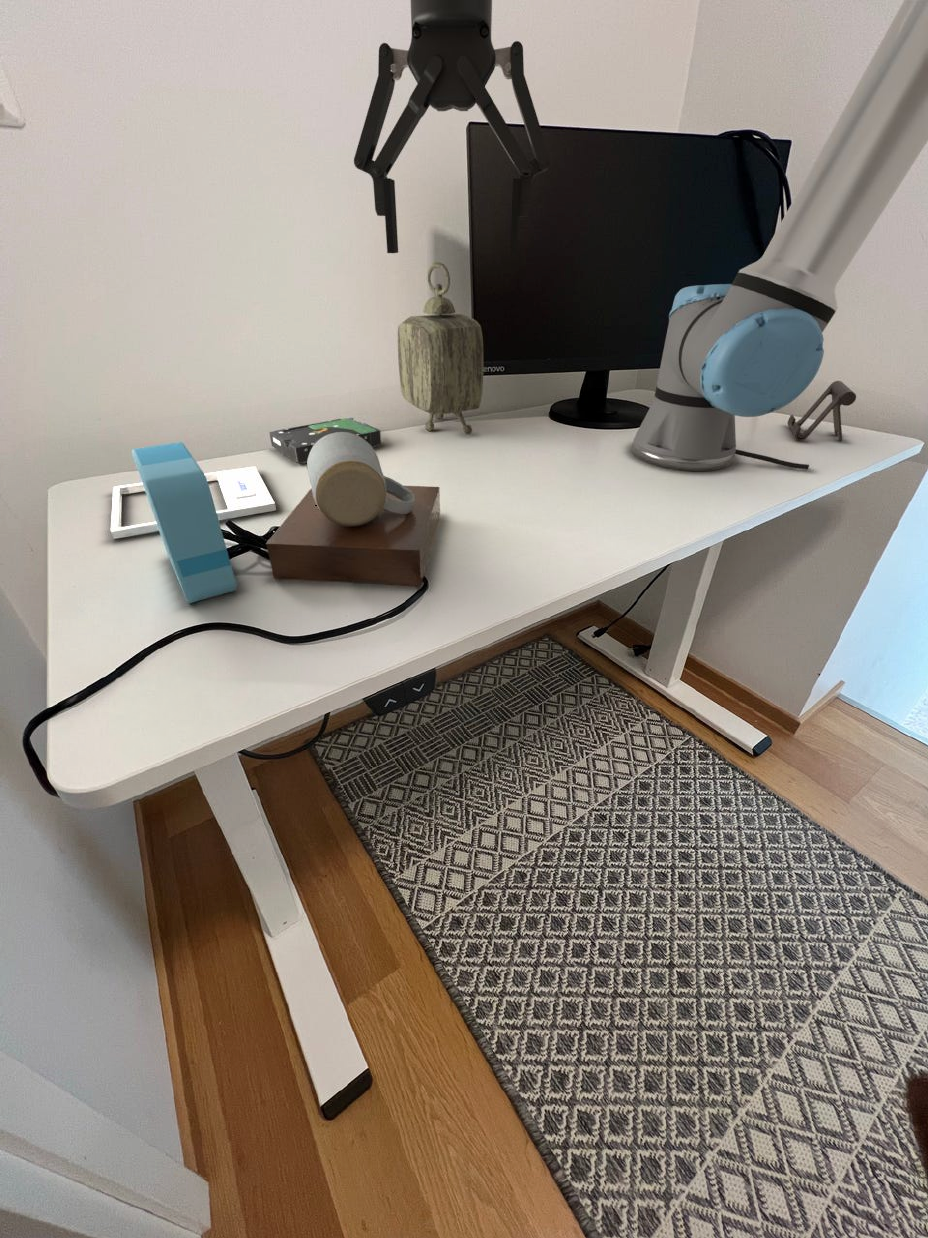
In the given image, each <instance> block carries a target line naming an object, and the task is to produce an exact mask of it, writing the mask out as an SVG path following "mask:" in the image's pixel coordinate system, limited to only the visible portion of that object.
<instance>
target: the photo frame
mask: <svg viewBox="0 0 928 1238" xmlns="http://www.w3.org/2000/svg"><path fill="white" fill-rule="evenodd" d="M204 475H205V477H206V479H207V482H208V483H209V482H213V481H217V482H218V484H219V487H220V490H221V492H222V495H223V496H222V497H223V499H224V502H225V505H226V507H227V509H221V510H216V513H217V516H218V520H219V521H224V520H228V519H235V518H241V517H245V516H252V515H257V514H263V513H268V512H274V511H277V506H276V503H275V501H274V499H273V497H272V495H271V493H270V492H269V489H268V488H267V486H266V484H265V482H264V480H263V479H262V477H261V475H260V473H259V472H258V469H257V467H256V466H249V467H241V468H235V469H234V468H233V469H228V470H221V471H214V472H213V471H212V472H206V473H204ZM141 492H145V489H144V486H143V483H142V482H138V483H132V484H124V485H118V486H113V489H112V505H111V518H110V519H111V521H110V533H111V536H112V538H113V540H115V539H122V538H127V537H133V536H138V535H144V534H150V533H155V532H159V529H158V526H157V523H156V521H151V522H146V523H145V522H144V523H139V524H134V525H127V526H122V504H123V503H122V502H123V500H122V499H123V498H122V497H123V496H122V495H127V494H134V493H141Z"/></svg>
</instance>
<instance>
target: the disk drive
mask: <svg viewBox="0 0 928 1238" xmlns="http://www.w3.org/2000/svg"><path fill="white" fill-rule="evenodd" d="M336 432H348V433H352V434H355V435H357V436H359V437H361V438H363V439H364V440H365V441H367V442H368V443H369V444H370V445H371V446H372V448H375V447H378V446H382V435H381V429H378V428H376V427H374V426H372V425H369V424H368V423H366V422H363V423H362V422H361V421H357V419H356V420H355V419H354V417H346V418H337V419H331V420H327V421H322V422H321V421H320V422H316V423H310V424H304V425H299V426H293V427H288V428H282V429H277V430H274V431H269V432H268V433H269V438H270V444H271V447H273V448H274V449H276V450H277V451H278V452H280V453H281V454H282V455H283V456H286V457H287V458H289V459H290V460H291V461H293V462H296V463H298V464H303V463H307V461H308V456H309V453H310V451H311V449H312V447H313V446H314V444H315V443H316V442H317V441H318V440H320V439H321V438H322V437H324V436H326V435H328V434H332V433H336Z"/></svg>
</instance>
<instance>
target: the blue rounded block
mask: <svg viewBox="0 0 928 1238" xmlns="http://www.w3.org/2000/svg"><path fill="white" fill-rule="evenodd" d="M131 455H132V457H133V460H134V464H135V466H136V469H137V472H138V475H139V478H140V481H141V483H143V486H144V489H145V491H144V492H145V494H146V495H145V496H146V497H147V500H148V504H149V506H150V508H151V512H152V514H153V518H154V520H155V522H156V523H157V526H158V529H159V531H158V532H159V535H160V537H161V540H162V544H163V546H164V548H165V551H166V554H167V557H168V559H169V562H170V564H171V567H172V569H173V572H174V574H175V576H176V579H177V581H178V583H179V584H178V585H179V586H180V588H181V591H182V594H183V596H184V598H185V600H186V602H187V603H188V604H191V603H195V602H196V603H197V602H200V601H202V600H205V599H210V598H213V597H217V596H221V595H224V594H228V593H231V592H234V591H237V588H238V587H237V585H238V584H237V581H236V578H235V574H234V570H233V567H232V563H231V559H230V556H229V552H228V548H227V545H226V542H225V537H224V534H223V531H222V527H221V523H220V520H218V516H217V513H216V511H217V510H216V505H215V502H214V499H213V495H212V491H211V488H210V486H209V481H208V482H207V479H206V477H205V475H204V474H205V473H204V471H203V469H202V468H201V466H200V465H199V464H198V463H197V461H196V460H195V458H194V457H193V455H192V454H191V452H190V451H189V450H188V448H187V447H186V445H185V444H184V442H183V441H178V442H172V443H171V442H170V443H165V444H158V445H152V446H143V447H137V448H133V449H132V450H131Z"/></svg>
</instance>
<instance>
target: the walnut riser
mask: <svg viewBox="0 0 928 1238" xmlns="http://www.w3.org/2000/svg"><path fill="white" fill-rule="evenodd" d="M404 486H405V487H406V488H407V489H409V490H410V491H411V492H412V493H413V495H414V497H415V502H414V505H413V507H412V510H411V511H410V512H409V513H408V514H395V513H390V512H387V511H385V510H381V511H380V513H379V514H378V515H377V516H376V517H375V518H374V519H373V520H371V521H370V522H368V523H366V524H363V525H360V526H350V527H347V526H342V525H338V524H336V523H334V522H332V521H331V520H329V519H328V518H326V517H325V516H324V515H323V514H322V512H321V511H320V509H319V508H318V506H315V505H316V503H315V500H314V497H313V493H312V488H311V487H310V489H309V490H308V492H307V493H306V494H305V495H304V496H303V498H302V499H301V500H300V501H299V503H298V504H297V505H296V506H295V507H294V509H293V510H292V511H291V512H290V514H289V515H288V516H287V517H286V519H285V520H284V521H283V522H282V524H280V526H279V527H278V528H277V530H276V531H275V532H274V533H273V534H272V536H271V537H270V538H269V539H268V540H267V542H266V543H265V544H266V545H265V546H266V550H267V554H268V558H269V562H270V567H271V571H272V576H273V579H275V580H290V581H293V580H294V581H314V582H332V583H333V582H334V583H351V584H352V583H353V584H373V585H390V586H391V585H392V586H395V585H396V586H411V587H412V586H414V587H415V586H416V587H422V585H423V581H424V577H425V574H426V570H427V566H428V562H429V559H430V555H431V552H432V548H433V546H434V541H435V537H436V534H437V530H438V526H439V523H440V519H441V498H440V497H441V496H440V492H441V491H440V486H424V485H404ZM386 495H387V497H389V498H393V499H396V500H400V499H399V498H397V497H395V496H394V495H392V494H390V493H388V492H386ZM400 501H402V500H400Z"/></svg>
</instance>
